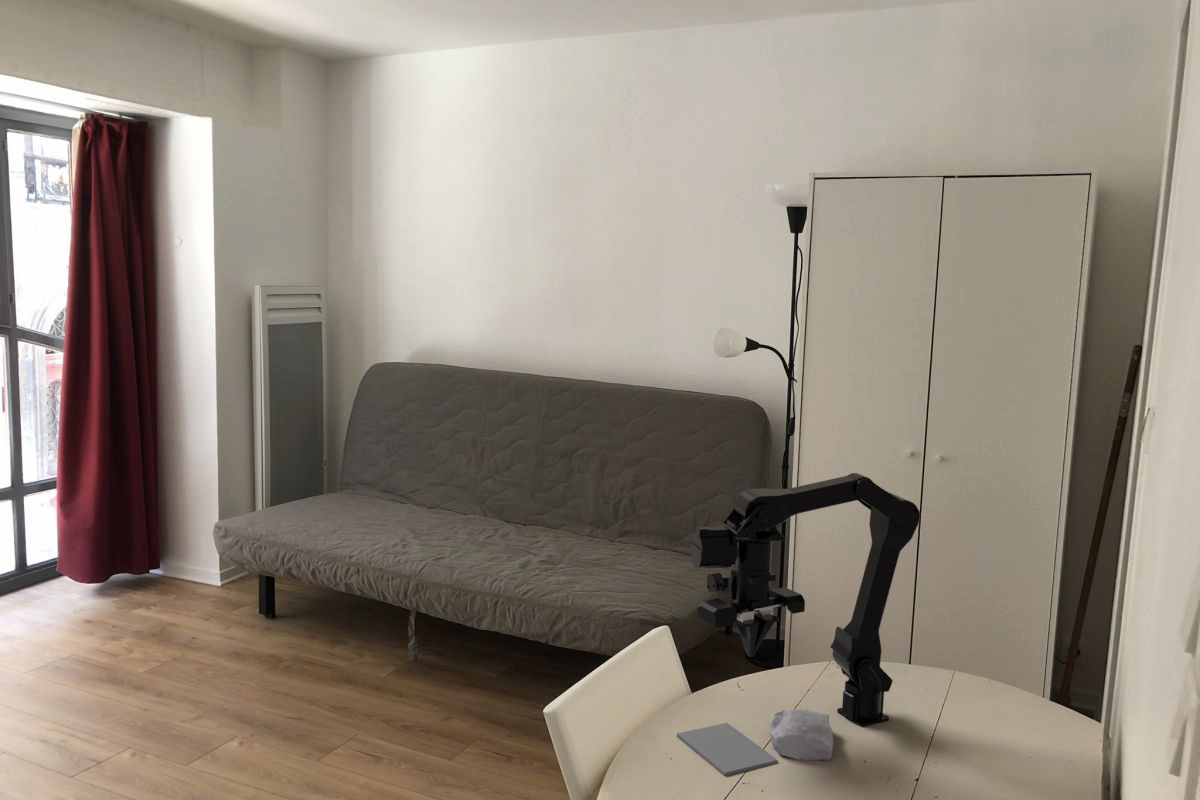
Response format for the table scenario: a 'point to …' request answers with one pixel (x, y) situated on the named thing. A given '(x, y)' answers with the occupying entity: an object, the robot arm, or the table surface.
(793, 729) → the stone block
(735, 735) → the mat
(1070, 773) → the table surface
